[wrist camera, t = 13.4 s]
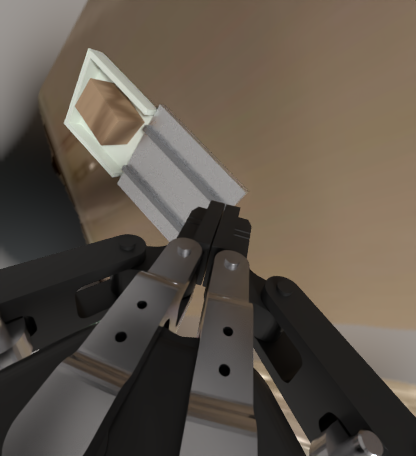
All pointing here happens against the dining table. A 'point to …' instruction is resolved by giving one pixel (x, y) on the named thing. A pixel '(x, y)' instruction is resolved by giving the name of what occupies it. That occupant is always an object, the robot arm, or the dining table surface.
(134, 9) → the dining table surface
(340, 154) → the dining table surface
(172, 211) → the slot plate
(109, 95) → the block
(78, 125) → the tray
